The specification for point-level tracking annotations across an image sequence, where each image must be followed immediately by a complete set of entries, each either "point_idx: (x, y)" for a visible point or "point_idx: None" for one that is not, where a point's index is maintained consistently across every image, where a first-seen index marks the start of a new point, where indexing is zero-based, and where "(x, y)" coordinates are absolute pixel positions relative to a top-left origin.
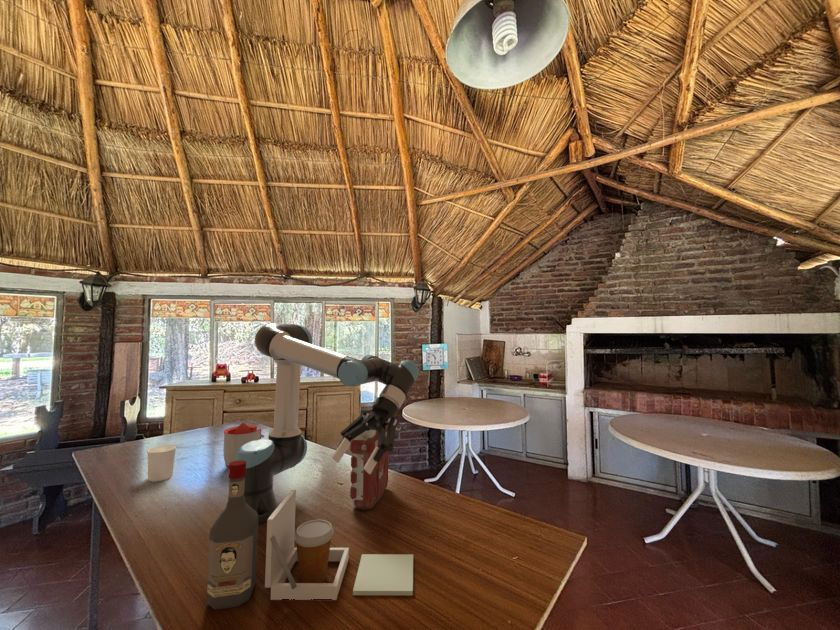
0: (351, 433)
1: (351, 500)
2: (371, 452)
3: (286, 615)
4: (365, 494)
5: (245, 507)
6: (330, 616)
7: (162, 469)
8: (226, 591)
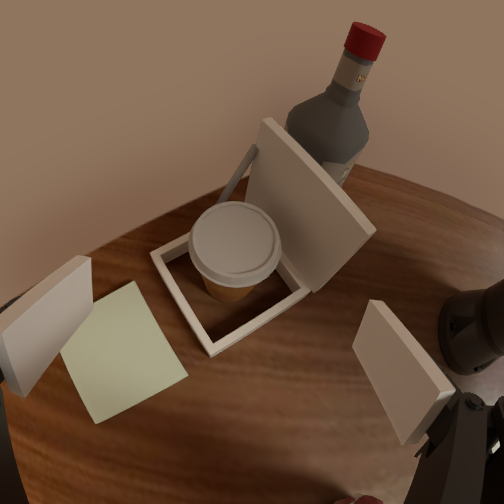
0: (450, 446)
1: (363, 495)
2: None
3: (198, 208)
4: None
5: (326, 104)
6: (140, 235)
7: None
8: None
